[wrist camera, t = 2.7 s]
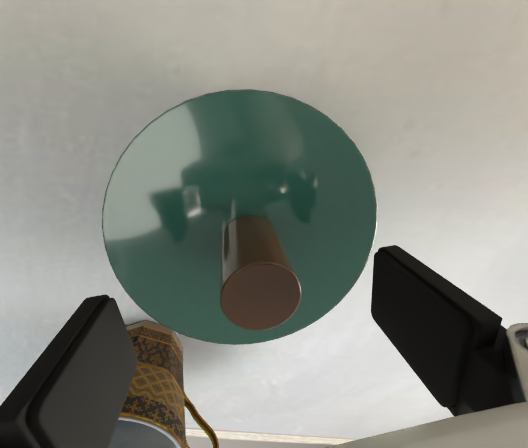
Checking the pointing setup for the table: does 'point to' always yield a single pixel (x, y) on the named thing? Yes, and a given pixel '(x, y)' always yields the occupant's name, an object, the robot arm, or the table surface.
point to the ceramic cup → (156, 393)
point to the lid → (239, 217)
